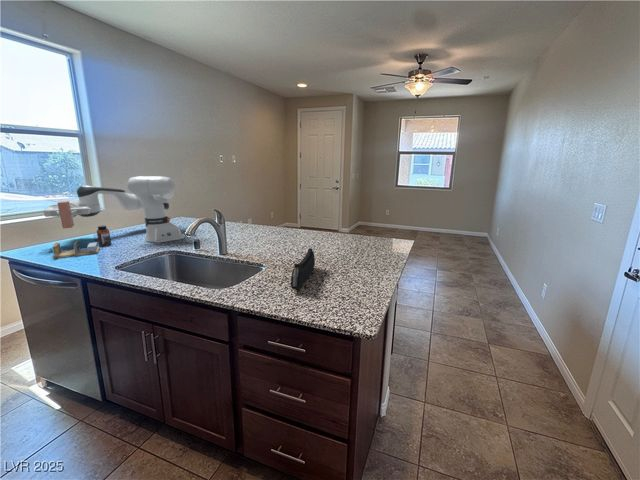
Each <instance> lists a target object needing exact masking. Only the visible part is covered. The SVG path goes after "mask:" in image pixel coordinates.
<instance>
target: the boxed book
mask: <svg viewBox="0 0 640 480" xmlns="http://www.w3.org/2000/svg"><path fill="white" fill-rule="evenodd" d="M57 204H58V208H59V213H60V217H59V218H60V221H61V227H62V229H70V228H71V229H73V227H74V226H75V224H74V220H73V219H74V217H72V215H70V211H71V208H70V203H69V200H59V201H58V202H57Z"/></svg>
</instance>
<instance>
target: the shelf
mask: <svg viewBox="0 0 640 480" xmlns="http://www.w3.org/2000/svg"><path fill="white" fill-rule="evenodd" d="M52 251H53V255H52V258H53V259H62V258H71V257H79V256H87V255H88V256H89V255H96V254H98V253H99V251H100V246H98V248H97V251H93V252H87V253H79V254H75V250H74V248H73V249H65V250H64V249H63V250H62V248H61V243H60V242H55V244H54V245H53V246H52Z"/></svg>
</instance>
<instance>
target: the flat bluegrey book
mask: <svg viewBox="0 0 640 480" xmlns="http://www.w3.org/2000/svg"><path fill="white" fill-rule="evenodd" d="M98 247H99V243H98V241H97V242H96V241H95V242H89V243H88V245H87V247H86V248H87V249H88V252H93V251H97V248H98Z"/></svg>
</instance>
